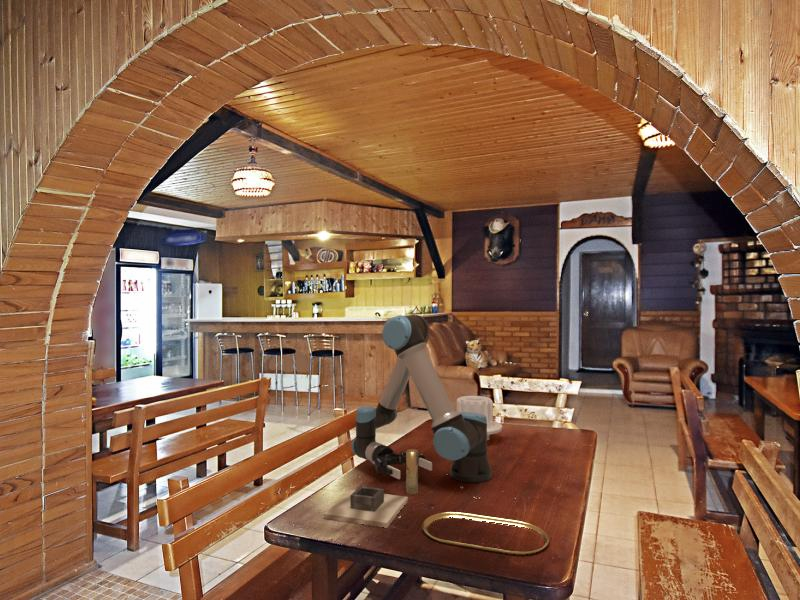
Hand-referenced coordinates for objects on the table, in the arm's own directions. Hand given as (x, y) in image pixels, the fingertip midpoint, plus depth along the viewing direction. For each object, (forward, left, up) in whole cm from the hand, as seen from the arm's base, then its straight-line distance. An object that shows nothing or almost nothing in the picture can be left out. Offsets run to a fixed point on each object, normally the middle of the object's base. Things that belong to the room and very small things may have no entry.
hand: (415, 470), depth 173 cm
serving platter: (-26, +22, -9) cm, 35 cm away
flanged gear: (-7, -70, -8) cm, 71 cm away
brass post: (+2, -1, -8) cm, 8 cm away
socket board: (+11, +17, -8) cm, 21 cm away
